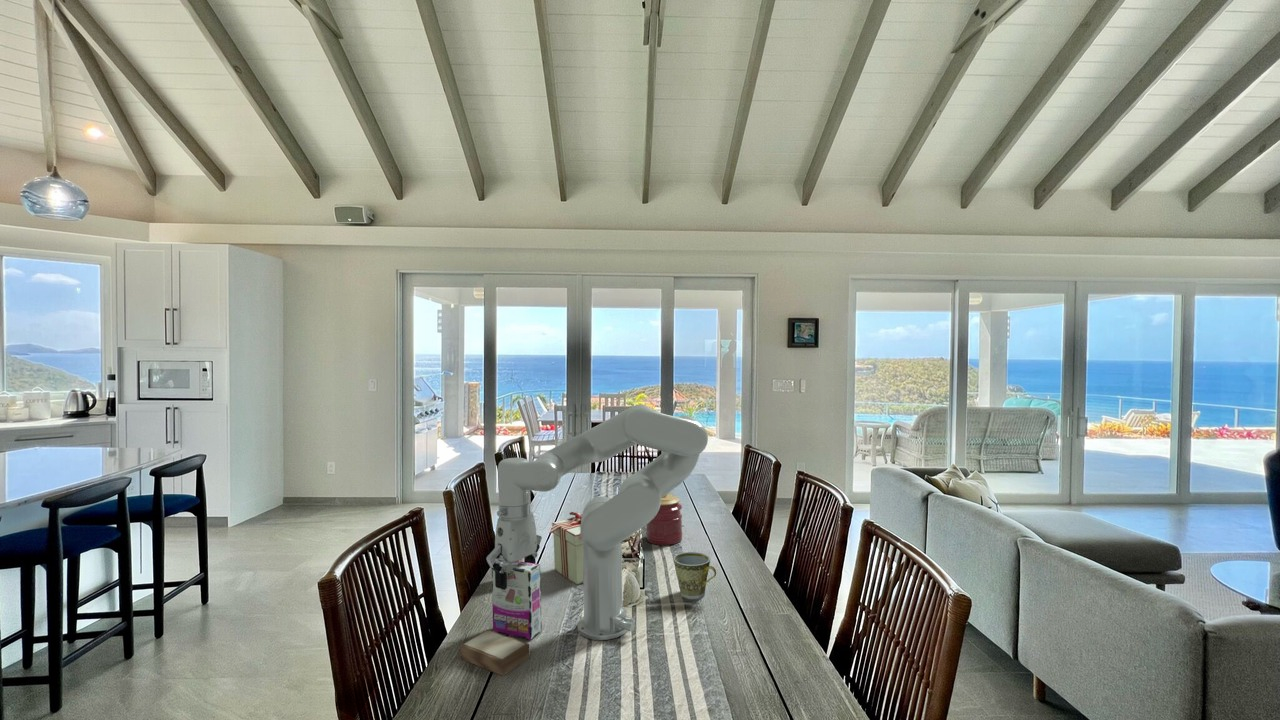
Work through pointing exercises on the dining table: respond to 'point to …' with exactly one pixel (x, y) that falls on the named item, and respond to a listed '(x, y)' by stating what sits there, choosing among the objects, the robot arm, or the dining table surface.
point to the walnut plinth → (494, 652)
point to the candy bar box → (518, 601)
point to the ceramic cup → (692, 573)
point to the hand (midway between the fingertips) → (516, 580)
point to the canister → (666, 523)
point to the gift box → (568, 548)
